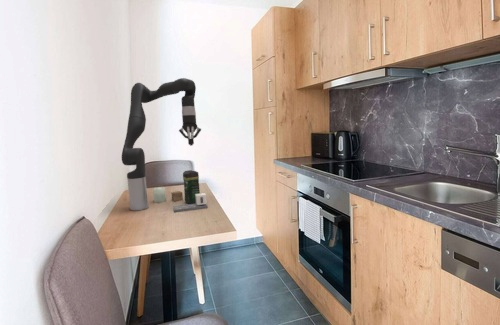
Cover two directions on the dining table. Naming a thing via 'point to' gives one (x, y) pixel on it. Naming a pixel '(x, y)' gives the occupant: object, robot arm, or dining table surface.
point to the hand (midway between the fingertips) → (191, 145)
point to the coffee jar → (191, 186)
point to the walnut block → (177, 196)
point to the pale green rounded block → (159, 194)
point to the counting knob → (201, 199)
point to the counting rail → (188, 207)
